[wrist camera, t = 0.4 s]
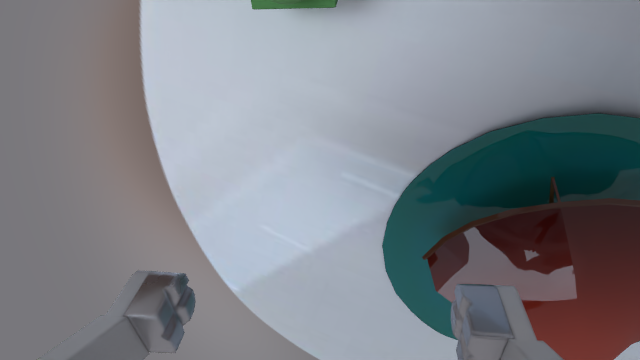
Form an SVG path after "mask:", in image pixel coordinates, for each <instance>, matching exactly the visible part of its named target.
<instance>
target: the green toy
mask: <svg viewBox="0 0 640 360" xmlns="http://www.w3.org/2000/svg"><path fill="white" fill-rule="evenodd" d="M337 2H338V0H251V3H252V9H292V8H334V7H336V4H337Z"/></svg>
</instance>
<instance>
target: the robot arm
mask: <svg viewBox="0 0 640 360" xmlns="http://www.w3.org/2000/svg"><path fill="white" fill-rule="evenodd" d="M188 281H189V280H188V278H187V276H186V274H184V273H171V272H156V271H136V272H135V273H134V274H132V276H131V277H130V279H129V281H128V282H127V283H126V285H125V286H124V288H123V290H122V291H121V293H120V294H119V296H118V297H117V299H116V300H115V302H114V303H113V305H112V306H111V308H110V309H109V311H108V312H107V314H106V315H101V316H99V317H98V318H96V319H95V320H94V321H92V322H91V323H89V324H88V325H86V326H85V327H83V328H82V329H80V330H79V331H78V332H76V333H75V334H73V335H72V336H70V337H69V338H67V339H66V340H64V341H63V342H62V343H60V344H59V345H57V346H56V347H54V348H53V349H51V350H50V351H49V352H47V353H46V354H44V355H43V356H42V357H40V358H38V359H37V360H143V359H145V357H147V356H148V355H149V352H158V353H176V351H177V349H178V347H179V344H180V342H181V340H182V338H183V335H184V329H183V325H185V324H186V323H187V322H188V321H189V320H190V319H191V317H192V315H193V312H194V307H195V294H194V292H193V290H192V289H191V288H190V287H188V286H187V283H188ZM454 293H455V297H456V300H454V301H453V302H452V306H451V326H452V331H453V335H454V336H455V337H456V339H457V340H458V344H457V348H456V352H457V357H458V360H564V359H563V358H562V357H560V356H559V355H558V354H557V353H556V352H555V351H554V350H553V349H552V348H550V347H549V346H548V345H547V344H546V343H545V342H544V341H538V340H537V338H536V336H535V333H534V331H533V328H532V326H531V323H530V321H529V318H528V316H527V313H526V311H525V308H524V306H523V303H522V301H521V298H520V296H519V293H518V291H517V289H516V288H515V287H514V286H502V285H484V284H457V285H456V287H455V291H454Z"/></svg>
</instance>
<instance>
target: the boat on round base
mask: <svg viewBox="0 0 640 360" xmlns="http://www.w3.org/2000/svg"><path fill="white" fill-rule="evenodd" d="M382 246H383V253H384V260H385V267H386V272H387V274H388V276H389V278H390V281H391V283H392V285H393V287H394V290H395V292H396V294H397V295H398V296H399V297H400V299H401V300H402V301H403V302H404V303H405V304H406V306H407V307H408V308H409V309H410V310H411V311H412V312H413V313H414V314H415V315H416V316H417V317H418V318H419V319H420V320H421V321H423V322H424V323H425V324H427V325H428V326H430V327H431V328H432V329H434V330H435V331H437V332H439V333H441V334H443V335H445V336H448V337H450V338H453V339H456V337H455V336H454V335H453V331H452V326H451V306H452V302H453V301H454V300H456V297H455V293H454V291H455V287H456V285H457V284H484V285H502V286H514V287H515V288H516V289H517V291H518V293H519V296H520V298H521V301H522V303H523V306H524V308H525V311H526V313H527V316H528V318H529V321H530V323H531V326H532V328H533V331H534V333H535V336H536V338H537V340H538V341H544V342H545V343H546V344H547V345H548V346H549V347H550V348H552V349H553V350H554V351H555V352H556V353H557V354H558V355H559V356H560V357H562V358H563V359H564V360H614V359H615V358H616V357H617V356H618V355H619V354H621V353H622V352H623V351H624V350H625V349H626V348H628V347H629V346H630V345H631V344H633V343H636V342H639V341H640V118H633V117H625V116H617V115H609V114H601V113H596V114H585V115H574V116H563V117H552V118H542V119H538V120H534V121H530V122H526V123H522V124H518V125H514V126H510V127H507V128H503V129H499V130H495V131H491V132H489V133H486V134H484V135H482V136H480V137H478V138H476V139H474V140H472V141H469V142H467V143H465V144H463V145H461V146H459V147H457V148H455V149H452V150H451V151H449V152H448V153H446V154H445V155H444V156H442V157H441V158H439V159H438V160H436V161H435V162H433V163H432V164H431V165H429V166H428V167H427V168H426V169H425V170H424V171H423V172H422V173H421V174H420V175H418V176H417V177H416V178H415V179H414V180H413V181H412V182H411V184H410V185H409V186H408V187H407V188H406V190H405V191H404V192H403V194H402V195H401V197H400V198H399V200H398V202H397V203H396V205H395V206H394V208H393V211H392V213H391V215H390V217H389V220H388V222H387V227H386V231H385V236H384V241H383V245H382ZM456 340H457V339H456Z"/></svg>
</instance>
